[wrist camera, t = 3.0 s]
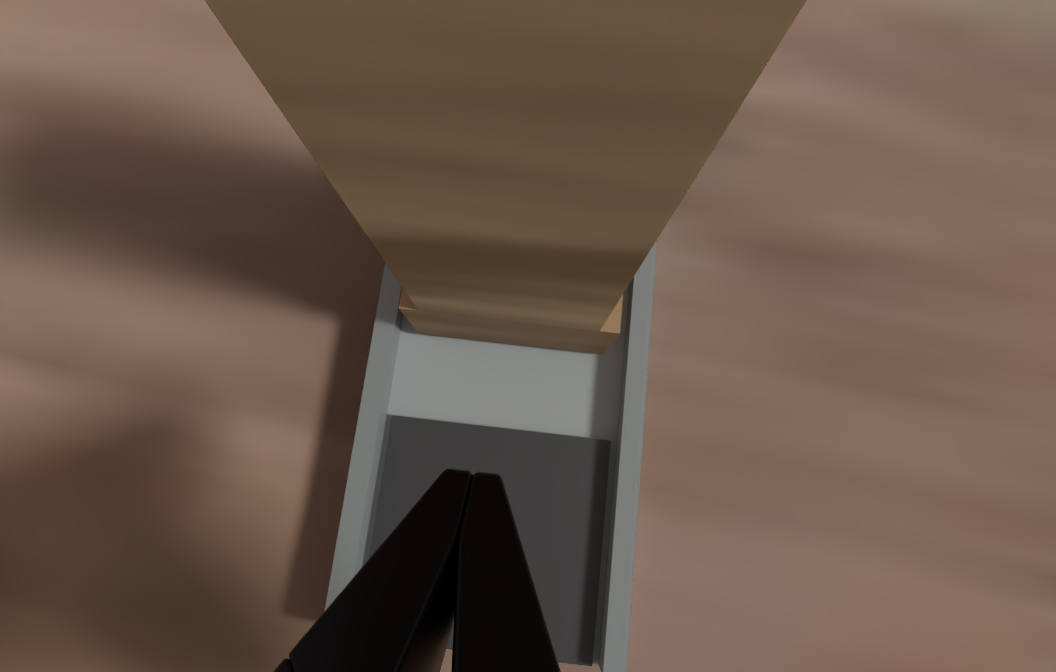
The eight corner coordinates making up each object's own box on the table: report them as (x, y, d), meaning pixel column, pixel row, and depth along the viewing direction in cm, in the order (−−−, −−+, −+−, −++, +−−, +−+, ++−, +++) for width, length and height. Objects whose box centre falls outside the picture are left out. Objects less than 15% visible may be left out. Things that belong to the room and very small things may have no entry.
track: (617, 659, 16) (626, 677, 15) (336, 626, 16) (319, 641, 15) (666, -4, 21) (676, -37, 19) (446, -28, 21) (441, -62, 20)
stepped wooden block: (603, 354, 17) (929, -56, 3) (419, 333, 17) (25, -151, 4) (621, 142, 19) (903, -741, 5) (452, 123, 19) (263, -801, 5)
